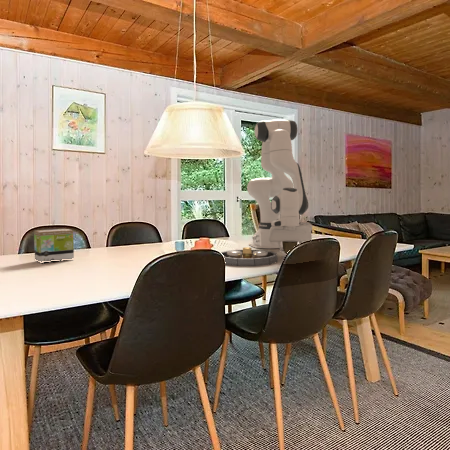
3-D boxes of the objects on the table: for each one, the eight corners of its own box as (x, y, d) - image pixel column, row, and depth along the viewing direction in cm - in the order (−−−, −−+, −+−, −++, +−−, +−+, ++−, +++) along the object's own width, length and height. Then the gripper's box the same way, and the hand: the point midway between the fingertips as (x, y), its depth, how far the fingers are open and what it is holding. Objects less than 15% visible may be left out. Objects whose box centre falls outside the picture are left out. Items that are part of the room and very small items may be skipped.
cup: (297, 258, 184) (297, 241, 183) (281, 258, 185) (281, 241, 185) (297, 256, 191) (297, 239, 191) (282, 255, 193) (282, 239, 192)
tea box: (41, 264, 178) (39, 231, 176) (34, 261, 185) (33, 230, 184) (74, 260, 188) (73, 229, 186) (67, 257, 195) (65, 228, 194)
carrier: (208, 258, 187) (208, 246, 187) (258, 254, 199) (258, 242, 198) (233, 268, 163) (233, 254, 163) (288, 262, 174) (288, 249, 174)
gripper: (311, 221, 189) (311, 250, 190) (268, 221, 191) (268, 250, 192) (313, 222, 183) (312, 252, 184) (268, 222, 185) (268, 252, 186)
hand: (289, 251), depth 188 cm, fingers closed on cup, 7 cm apart
